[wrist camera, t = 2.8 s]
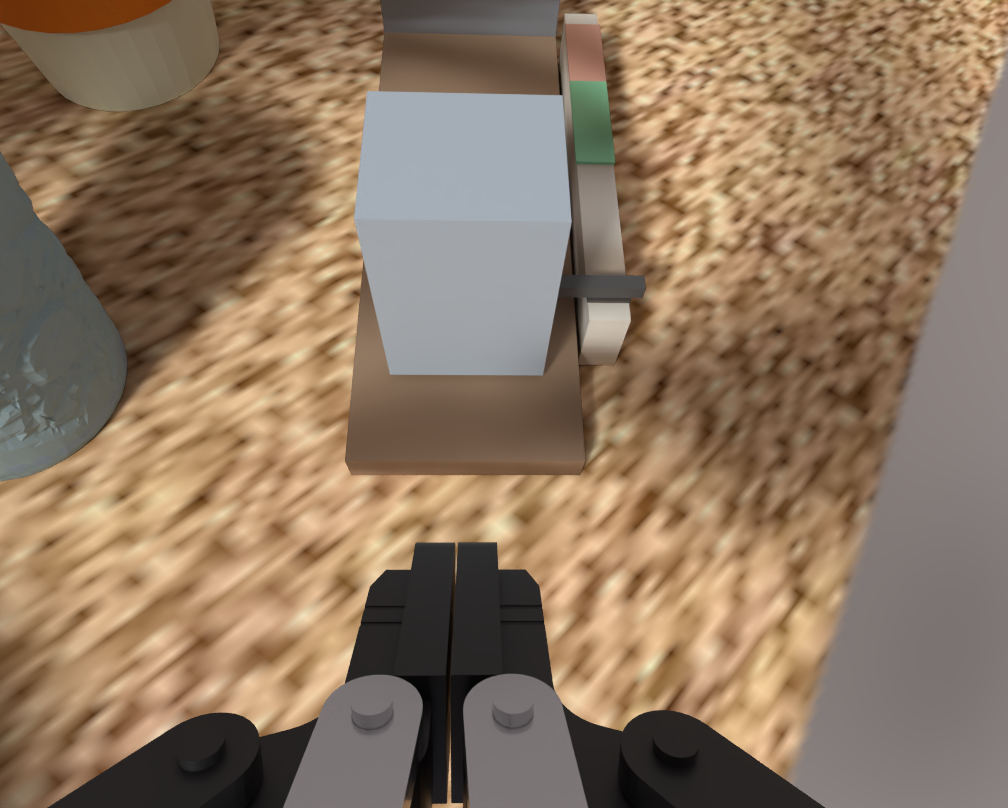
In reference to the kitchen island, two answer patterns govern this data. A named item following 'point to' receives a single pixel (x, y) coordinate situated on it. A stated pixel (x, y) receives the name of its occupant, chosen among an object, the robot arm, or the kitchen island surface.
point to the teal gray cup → (49, 344)
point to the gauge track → (590, 251)
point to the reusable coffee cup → (116, 47)
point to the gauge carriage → (468, 230)
